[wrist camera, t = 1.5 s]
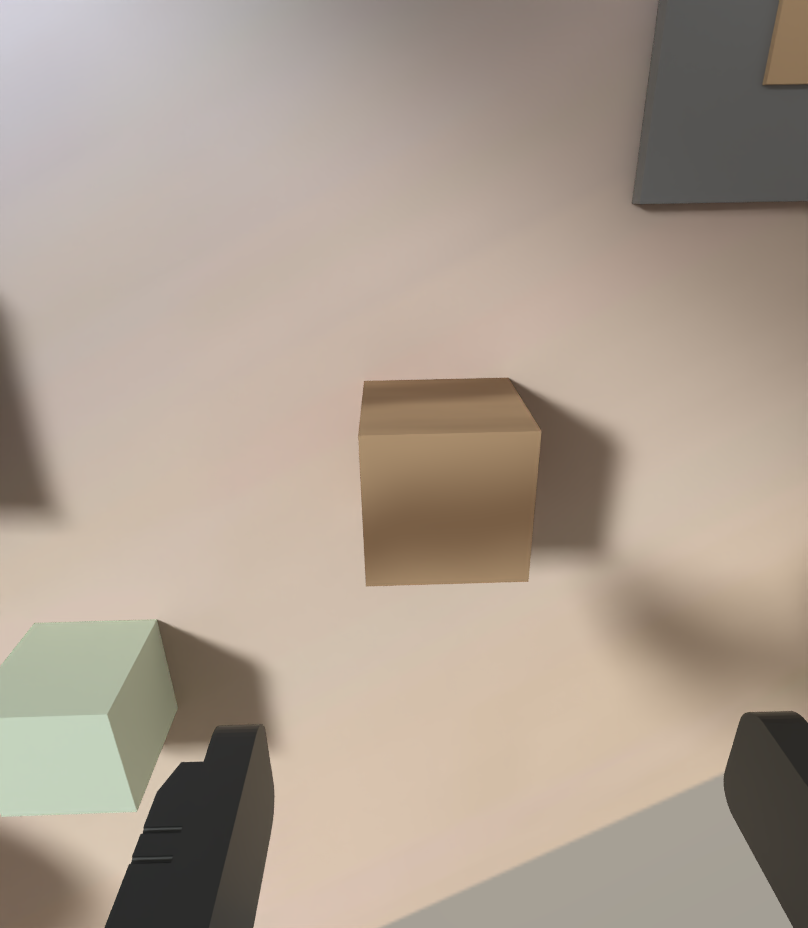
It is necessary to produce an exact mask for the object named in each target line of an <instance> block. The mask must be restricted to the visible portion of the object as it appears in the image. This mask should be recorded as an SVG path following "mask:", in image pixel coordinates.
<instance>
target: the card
mask: <svg viewBox="0 0 808 928" xmlns="http://www.w3.org/2000/svg"><path fill="white" fill-rule="evenodd" d="M780 201H808V0H659V5H658V12H657V20H656V27H655V35H654V42H653V50H652V57H651V65H650V72H649V80H648V87H647V95H646V102H645V110H644V117H643V125H642V132H641V140H640V147H639V155H638V162H637V170H636V177H635V185H634V192H633V200H632V203H633V204H669V203H725V202H780Z"/></svg>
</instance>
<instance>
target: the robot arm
mask: <svg viewBox="0 0 808 928" xmlns="http://www.w3.org/2000/svg"><path fill="white" fill-rule="evenodd" d="M724 791H725V796H726V799H727V803H728V806H729V809H730V811H731V814H732V815H733V818H734V819H735V821H736V823H737V825H738V827H739V829H740V830H741V832H742V834H743V836H744V838H745V840H746V841H747V843H748V845H749V847H750V849H751V851H752V852H753V854H754V856H755V858H756V860H757V862H758V864H759V865H760V867H761V869H762V871H763V873H764V874H765V876H766V878H767V880H768V882H769V884H770V885H771V887H772V889H773V891H774V893H775V895H776V897H777V898H778V900H779V902H780V904H781V906H782V908H783V910H784V911H785V913H786V915H787V917H788V918H789V921H790V922H791V924H792V926H793V928H808V723H807V721H806V720H805V719H804V718H803V717H802V716H801V715H799V714H798V713H796V712H793V711H779V712H747V713H745V714H743V716H742V717H741V719H740V722H739V725H738V728H737V732H736V735H735V739H734V742H733V745H732V749H731V752H730V755H729V759H728V762H727V766H726V769H725V773H724ZM273 814H274V783H273V777H272V770H271V764H270V757H269V751H268V745H267V738H266V732H265V728H264V726H263V725H262V724H260V725H224V726H217V727H216V729H215V730H214V732H213V735H212V738H211V741H210V744H209V747H208V750H207V753H206V756H205V759H204V762H181V763H180V764H179V766H178V767H177V768H176V769H175V771H174V772H173V773H172V774H171V775H170V777H169V778H168V779H167V780H166V782H165V783H164V784H163V785H162V787H161V788H160V789H159V790H158V791H157V793H156V796H155V798H154V801H153V804H152V806H151V809H150V811H149V814H148V817H147V819H146V822H145V824H144V830H143V834H141V835H140V837H139V840H138V842H137V845H136V848H135V850H134V853H133V855H132V862H131V864H129V866H128V868H127V871H126V874H125V876H124V879H123V881H122V884H121V887H120V889H119V892H118V894H117V897H116V899H115V902H114V905H113V907H112V910H111V912H110V915H109V918H108V920H107V923H106V925H105V928H253V926H254V921H255V916H256V910H257V905H258V899H259V894H260V889H261V883H262V878H263V872H264V867H265V862H266V856H267V851H268V845H269V840H270V835H271V829H272V823H273Z"/></svg>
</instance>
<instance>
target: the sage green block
mask: <svg viewBox="0 0 808 928" xmlns="http://www.w3.org/2000/svg"><path fill="white" fill-rule="evenodd" d="M177 709H178V706H177V702H176V698H175V694H174V690H173V685H172V681H171V677H170V673H169V668H168V664H167V660H166V656H165V652H164V647H163V643H162V639H161V635H160V631H159V626H158V622H157V619H153V620H119V621H85V622H50V623H34V624H33V626H32V627H31V628H30V629H29V631H28V632H27V633H26V634H25V636H24V637H23V638H22V639H21V641H20V642H19V643H18V644H17V646H16V647H15V648H14V649H13V651H12V652H11V653H10V654H9V656H8V657H7V658H6V659H5V661H4V662H3V663H2V664H1V666H0V814H1V816H2V817H8V816H36V815H63V814H91V813H119V812H137V810H138V808H139V805H140V803H141V800H142V798H143V795H144V793H145V790H146V788H147V785H148V783H149V780H150V777H151V775H152V772H153V770H154V767H155V765H156V762H157V760H158V757H159V755H160V752H161V750H162V747H163V745H164V742H165V739H166V737H167V734H168V732H169V729H170V727H171V724H172V722H173V719H174V717H175V714H176V712H177Z"/></svg>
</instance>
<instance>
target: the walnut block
mask: <svg viewBox="0 0 808 928" xmlns="http://www.w3.org/2000/svg"><path fill="white" fill-rule="evenodd" d="M541 432H542V431H541V429H540V428H539V426H538V425H537V423H536V421H535V420H534V418H533V417H532V415H531V413H530V412H529V410H528V409H527V407H526V405H525V404H524V402H523V400H522V399H521V397H520V396H519V394H518V392H517V391H516V389H515V388H514V386H513V384H512V383H511V381H510V380H509V378H476V379H433V380H390V381H364V387H363V396H362V406H361V415H360V424H359V433H358V440H359V460H360V479H361V498H362V517H363V537H364V556H365V575H366V586H394V585H428V584H462V583H496V582H528V579H529V568H530V556H531V545H532V534H533V522H534V511H535V500H536V488H537V477H538V466H539V454H540V443H541Z"/></svg>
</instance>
